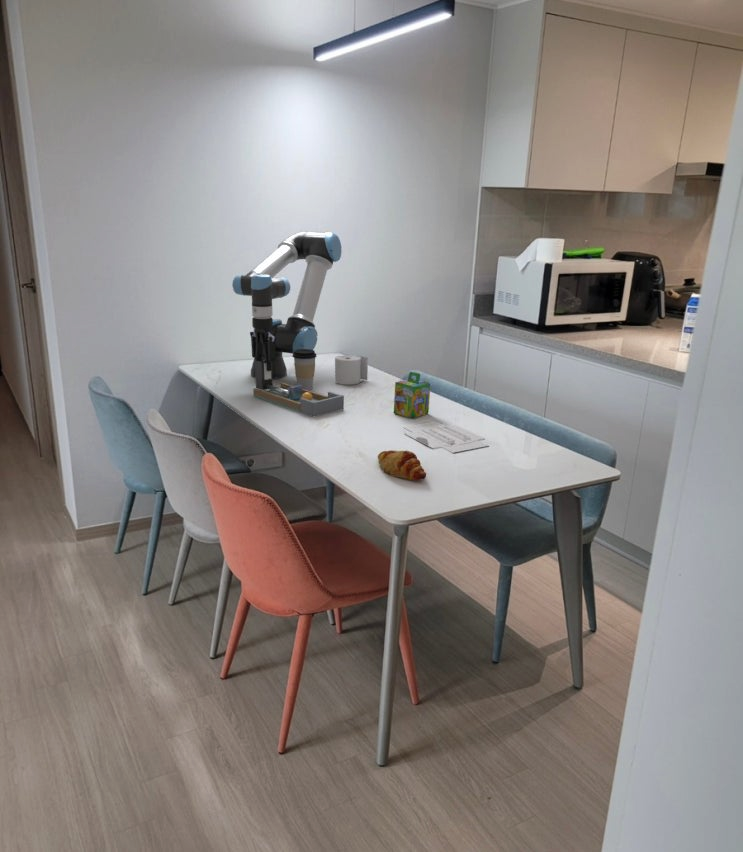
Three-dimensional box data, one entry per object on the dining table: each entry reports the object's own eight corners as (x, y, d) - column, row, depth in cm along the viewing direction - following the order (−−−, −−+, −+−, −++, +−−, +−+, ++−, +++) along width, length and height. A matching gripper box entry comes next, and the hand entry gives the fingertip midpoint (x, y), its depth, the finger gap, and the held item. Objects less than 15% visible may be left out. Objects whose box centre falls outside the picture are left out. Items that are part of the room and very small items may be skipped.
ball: (307, 400, 260) (307, 390, 259) (314, 403, 257) (314, 392, 256) (299, 402, 257) (299, 392, 256) (306, 405, 255) (306, 394, 254)
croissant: (371, 473, 206) (360, 452, 202) (395, 452, 209) (385, 431, 205) (416, 497, 189) (406, 475, 185) (442, 473, 193) (433, 451, 189)
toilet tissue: (329, 381, 293) (329, 357, 290) (351, 376, 300) (351, 353, 297) (346, 386, 285) (346, 361, 282) (368, 381, 293) (368, 357, 290)
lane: (282, 389, 278) (282, 381, 277) (330, 405, 259) (330, 395, 258) (253, 396, 268) (252, 387, 267) (301, 412, 250) (300, 402, 249)
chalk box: (392, 413, 251) (394, 372, 246) (409, 408, 257) (411, 368, 252) (413, 419, 245) (414, 377, 240) (429, 414, 251) (431, 373, 246)
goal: (329, 404, 260) (329, 391, 258) (343, 409, 255) (343, 395, 253) (300, 412, 250) (299, 398, 248) (314, 416, 245) (313, 402, 243)
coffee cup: (318, 386, 285) (318, 349, 280) (314, 392, 276) (314, 354, 271) (295, 384, 285) (294, 348, 281) (290, 391, 277) (290, 353, 272)
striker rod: (266, 386, 277) (265, 358, 274) (302, 397, 263) (302, 368, 259) (255, 388, 274) (255, 360, 270) (292, 400, 259) (291, 370, 256)
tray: (444, 422, 244) (444, 412, 243) (497, 449, 222) (498, 438, 220) (393, 431, 234) (394, 420, 233) (444, 460, 212) (445, 449, 210)
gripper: (240, 315, 269) (242, 375, 276) (268, 321, 257) (269, 383, 265) (256, 313, 274) (258, 372, 281) (284, 319, 262) (285, 380, 270)
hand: (264, 377), depth 273 cm, fingers closed on striker rod, 4 cm apart
